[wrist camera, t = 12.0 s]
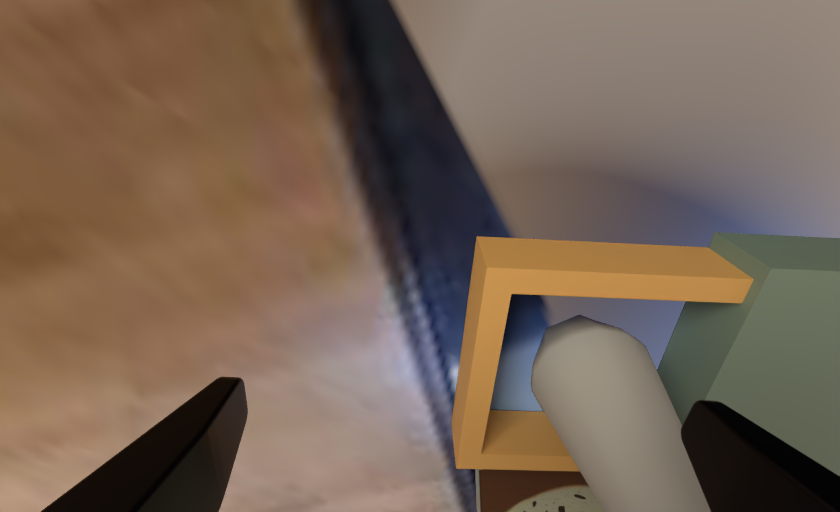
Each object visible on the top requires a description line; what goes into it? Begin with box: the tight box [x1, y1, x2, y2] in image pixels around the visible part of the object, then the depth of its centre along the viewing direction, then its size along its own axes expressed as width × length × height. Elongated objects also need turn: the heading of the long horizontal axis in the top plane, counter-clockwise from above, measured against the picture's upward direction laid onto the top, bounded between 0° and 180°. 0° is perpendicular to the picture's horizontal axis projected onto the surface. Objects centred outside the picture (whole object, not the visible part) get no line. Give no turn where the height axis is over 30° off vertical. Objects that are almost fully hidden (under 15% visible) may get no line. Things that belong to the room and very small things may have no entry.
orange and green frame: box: [451, 232, 840, 476], centre depth 21 cm, size 14×21×4 cm, turn 86°
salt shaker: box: [531, 315, 711, 512], centre depth 17 cm, size 6×6×13 cm
